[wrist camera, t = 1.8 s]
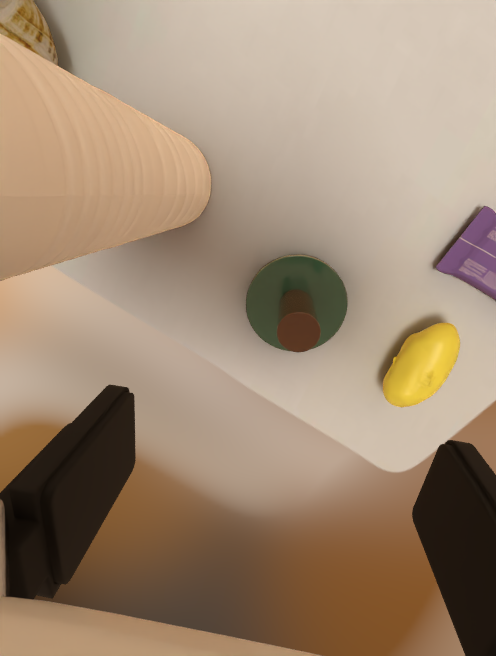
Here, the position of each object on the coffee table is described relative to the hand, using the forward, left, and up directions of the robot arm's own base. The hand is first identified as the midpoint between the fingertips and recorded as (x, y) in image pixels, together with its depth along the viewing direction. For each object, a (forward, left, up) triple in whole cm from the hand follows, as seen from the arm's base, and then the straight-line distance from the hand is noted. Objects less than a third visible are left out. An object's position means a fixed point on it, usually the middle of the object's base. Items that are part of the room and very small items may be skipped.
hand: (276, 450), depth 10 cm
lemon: (+12, -4, -19) cm, 22 cm away
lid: (+1, -1, -18) cm, 18 cm away
